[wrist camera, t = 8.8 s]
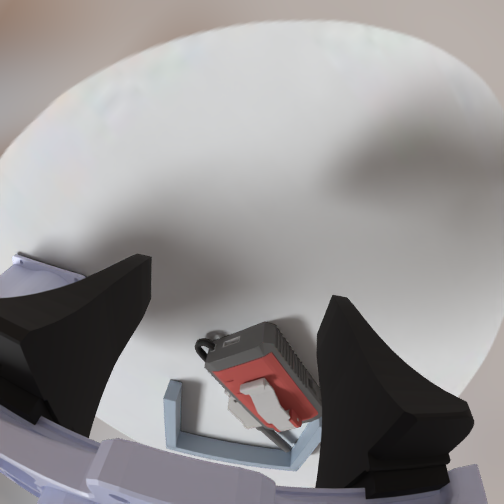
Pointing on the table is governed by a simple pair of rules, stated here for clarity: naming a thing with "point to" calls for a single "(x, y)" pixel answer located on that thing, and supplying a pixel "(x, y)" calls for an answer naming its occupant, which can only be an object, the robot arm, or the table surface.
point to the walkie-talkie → (263, 380)
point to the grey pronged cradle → (234, 450)
